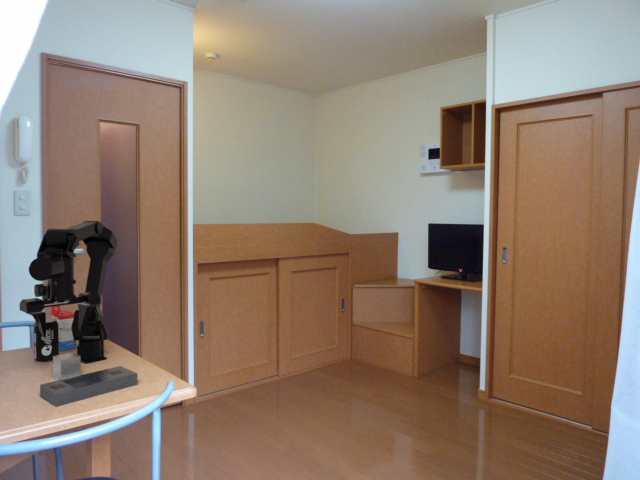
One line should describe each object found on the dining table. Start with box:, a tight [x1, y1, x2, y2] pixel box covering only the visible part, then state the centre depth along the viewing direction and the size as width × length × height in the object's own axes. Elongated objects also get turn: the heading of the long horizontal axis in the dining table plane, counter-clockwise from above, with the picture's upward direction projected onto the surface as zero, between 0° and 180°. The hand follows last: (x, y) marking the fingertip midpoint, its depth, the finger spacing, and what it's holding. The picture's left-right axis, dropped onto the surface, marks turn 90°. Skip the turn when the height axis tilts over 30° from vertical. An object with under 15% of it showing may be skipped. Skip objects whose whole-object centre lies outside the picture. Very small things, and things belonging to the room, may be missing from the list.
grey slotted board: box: [39, 365, 138, 407], centre depth 121 cm, size 20×9×3 cm, turn 140°
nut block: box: [52, 352, 82, 381], centre depth 130 cm, size 5×5×6 cm
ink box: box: [51, 305, 77, 352], centre depth 160 cm, size 8×5×15 cm, turn 47°
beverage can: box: [32, 317, 60, 363], centre depth 147 cm, size 7×7×12 cm
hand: (62, 333), depth 130 cm, fingers open, 9 cm apart
